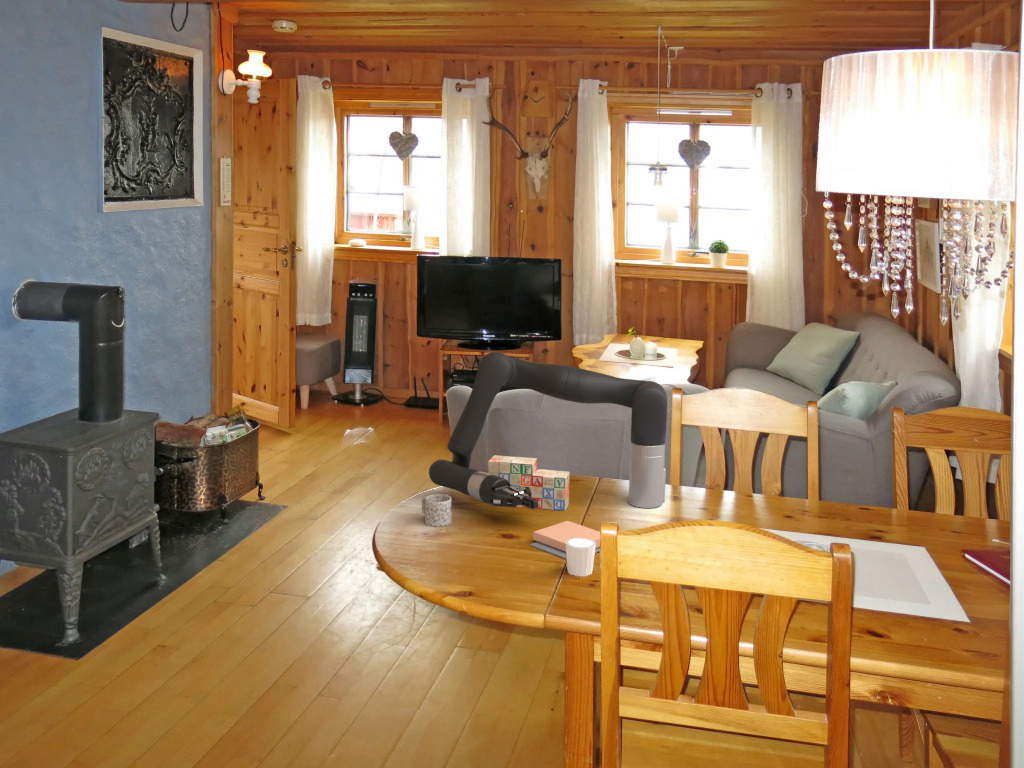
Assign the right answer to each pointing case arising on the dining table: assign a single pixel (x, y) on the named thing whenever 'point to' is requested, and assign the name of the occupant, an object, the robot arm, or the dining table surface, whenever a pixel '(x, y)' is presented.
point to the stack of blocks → (533, 480)
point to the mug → (437, 510)
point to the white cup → (580, 556)
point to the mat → (553, 549)
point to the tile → (565, 534)
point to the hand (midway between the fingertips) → (536, 504)
